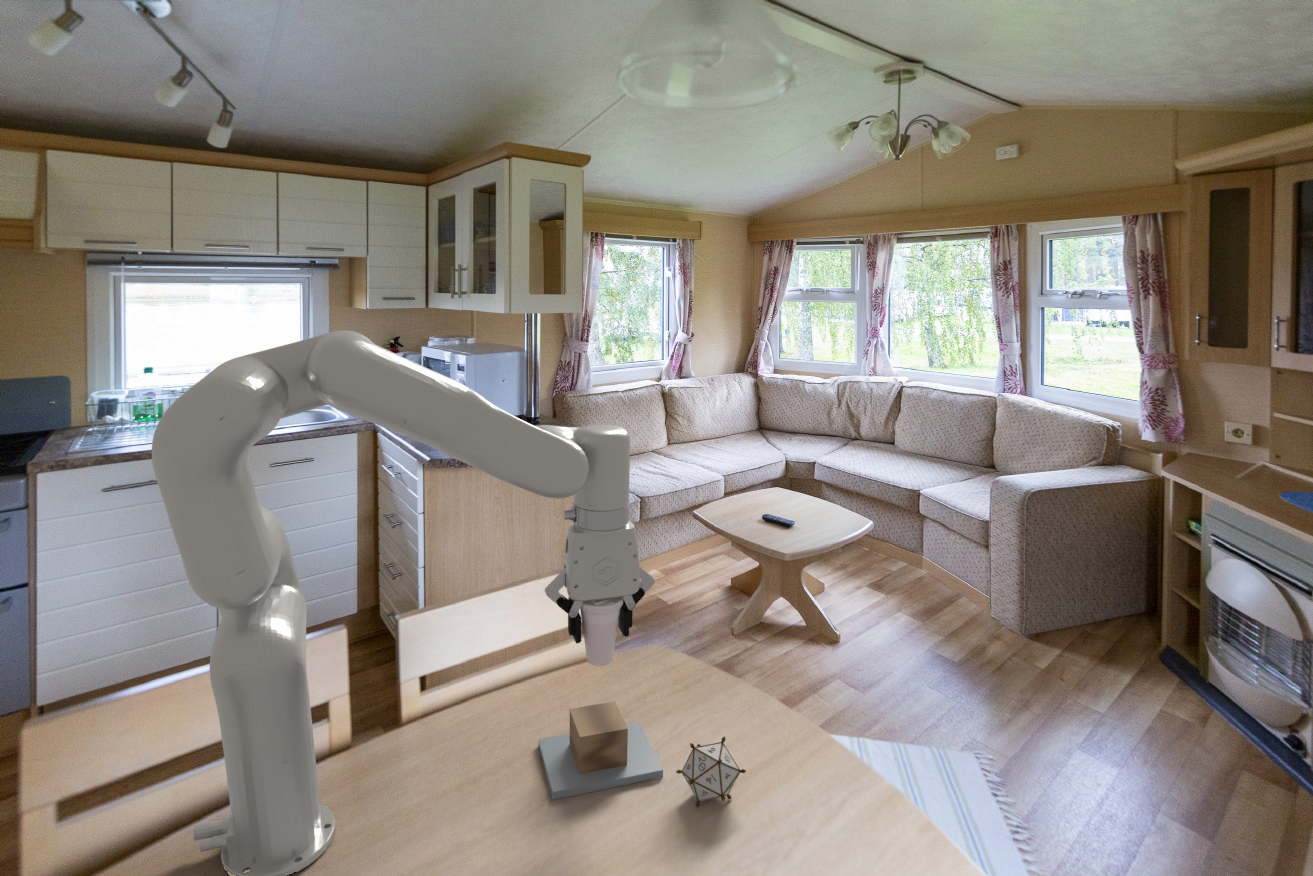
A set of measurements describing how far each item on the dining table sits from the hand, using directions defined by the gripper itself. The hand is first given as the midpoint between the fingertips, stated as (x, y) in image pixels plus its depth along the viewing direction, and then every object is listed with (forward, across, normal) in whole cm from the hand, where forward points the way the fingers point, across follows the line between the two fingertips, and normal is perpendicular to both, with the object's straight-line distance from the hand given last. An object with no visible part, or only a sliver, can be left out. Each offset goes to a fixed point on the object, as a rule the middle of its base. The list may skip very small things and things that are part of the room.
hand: (600, 634), depth 102 cm
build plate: (+21, 0, 0) cm, 21 cm away
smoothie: (+4, 0, 0) cm, 4 cm away
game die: (+21, +13, -12) cm, 27 cm away
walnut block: (+19, 0, 0) cm, 19 cm away
